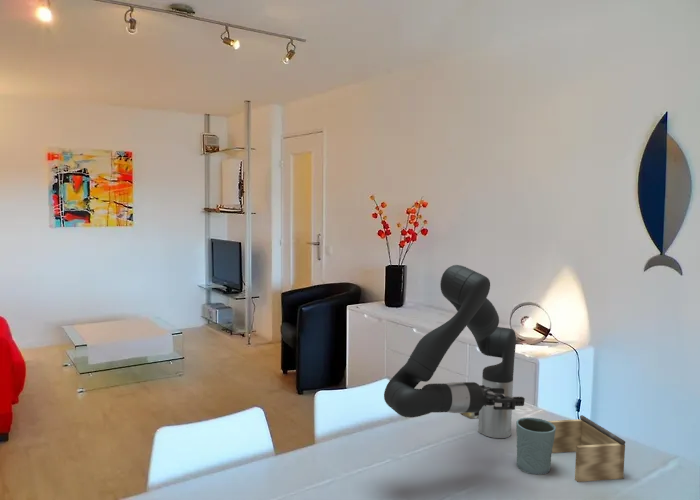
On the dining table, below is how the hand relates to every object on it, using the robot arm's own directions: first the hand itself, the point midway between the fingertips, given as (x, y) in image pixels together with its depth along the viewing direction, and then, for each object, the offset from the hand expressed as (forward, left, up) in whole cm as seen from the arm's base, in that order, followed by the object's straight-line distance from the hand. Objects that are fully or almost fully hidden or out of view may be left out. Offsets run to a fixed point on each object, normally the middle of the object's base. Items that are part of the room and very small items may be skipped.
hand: (513, 396), depth 149 cm
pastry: (-23, +35, -21) cm, 47 cm away
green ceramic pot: (+5, +5, -20) cm, 22 cm away
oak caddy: (+15, +14, -20) cm, 29 cm away
